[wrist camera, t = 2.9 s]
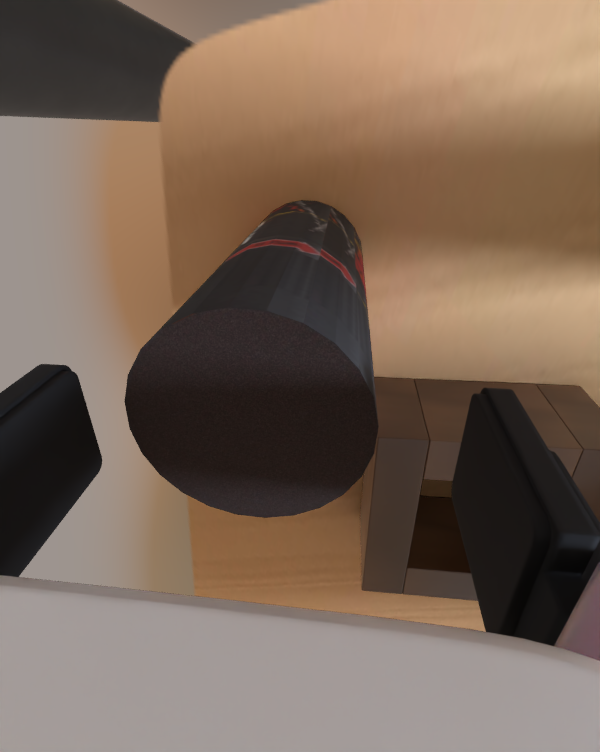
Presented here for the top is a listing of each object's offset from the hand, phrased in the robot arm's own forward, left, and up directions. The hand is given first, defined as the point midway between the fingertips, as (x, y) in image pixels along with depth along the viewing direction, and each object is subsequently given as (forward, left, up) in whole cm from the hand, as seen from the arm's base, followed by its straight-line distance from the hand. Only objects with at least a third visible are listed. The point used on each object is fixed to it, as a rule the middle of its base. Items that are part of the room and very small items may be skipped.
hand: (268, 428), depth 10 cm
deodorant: (0, 0, -15) cm, 15 cm away
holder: (+10, -13, -15) cm, 22 cm away
